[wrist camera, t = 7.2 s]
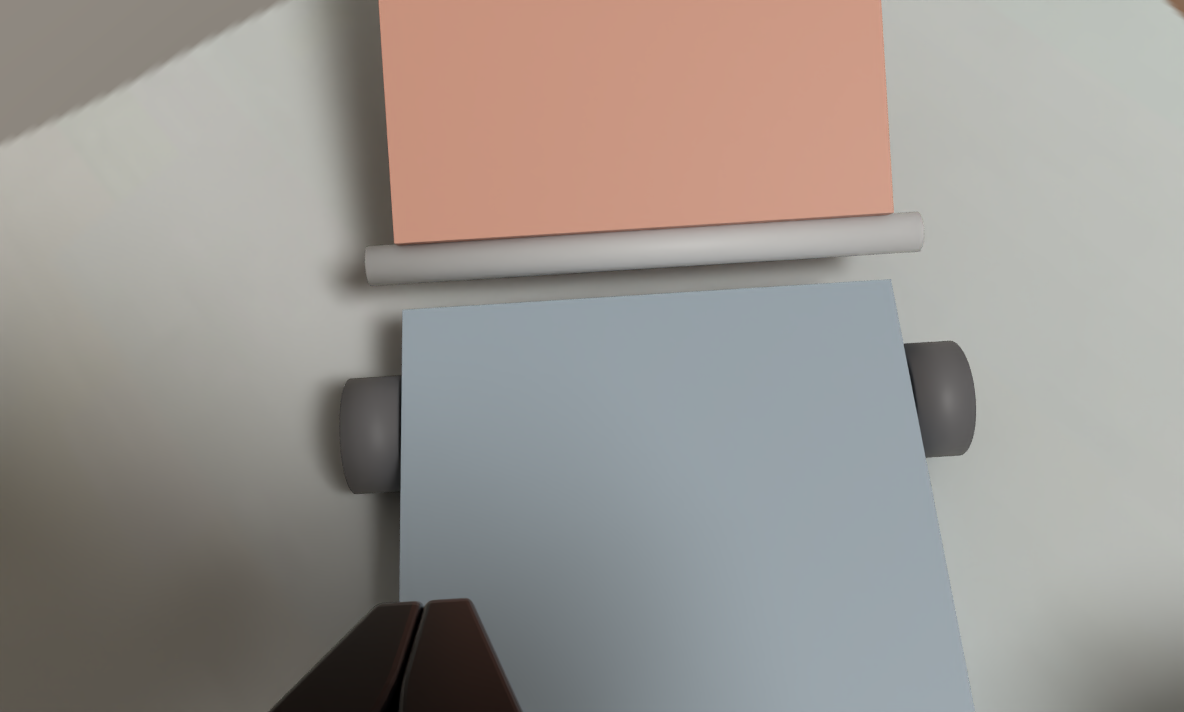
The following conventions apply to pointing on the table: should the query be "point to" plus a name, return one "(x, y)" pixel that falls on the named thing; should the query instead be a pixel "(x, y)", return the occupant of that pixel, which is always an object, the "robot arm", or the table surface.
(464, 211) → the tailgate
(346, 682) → the robot arm
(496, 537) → the cart bed
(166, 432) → the table surface
